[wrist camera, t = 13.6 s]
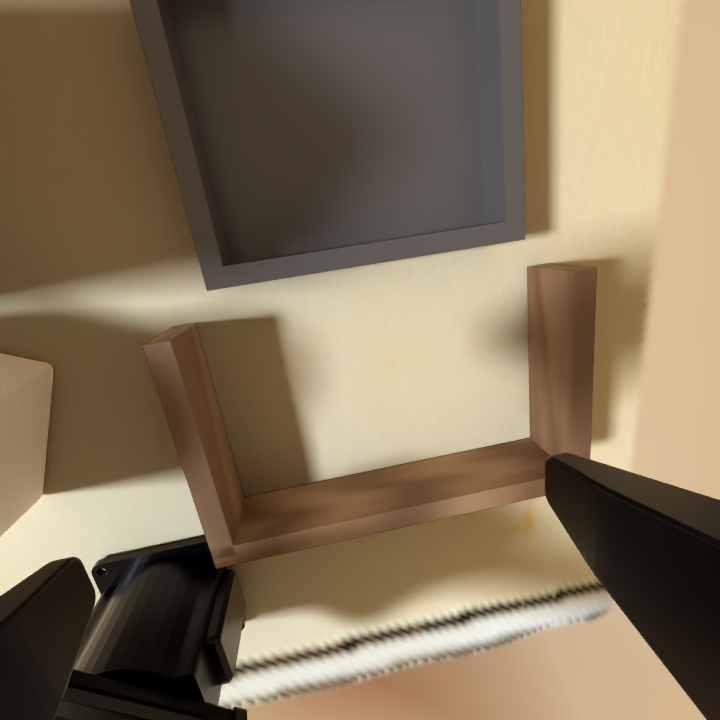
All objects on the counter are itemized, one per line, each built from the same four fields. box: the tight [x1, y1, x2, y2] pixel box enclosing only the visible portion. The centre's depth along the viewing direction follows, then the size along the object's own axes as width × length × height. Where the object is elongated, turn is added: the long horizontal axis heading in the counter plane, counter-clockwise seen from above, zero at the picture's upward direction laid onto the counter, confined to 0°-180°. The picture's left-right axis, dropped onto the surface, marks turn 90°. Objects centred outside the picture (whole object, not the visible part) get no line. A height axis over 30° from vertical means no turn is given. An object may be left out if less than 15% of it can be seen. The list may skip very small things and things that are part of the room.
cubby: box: [143, 264, 597, 569], centre depth 18 cm, size 18×10×4 cm, turn 98°
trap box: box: [130, 0, 525, 291], centre depth 15 cm, size 13×11×2 cm
